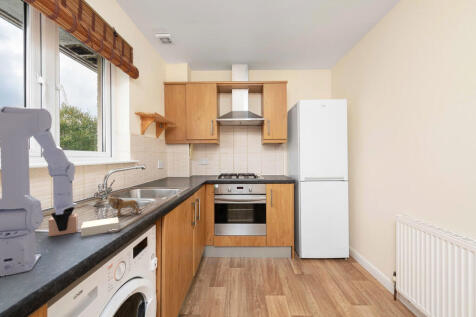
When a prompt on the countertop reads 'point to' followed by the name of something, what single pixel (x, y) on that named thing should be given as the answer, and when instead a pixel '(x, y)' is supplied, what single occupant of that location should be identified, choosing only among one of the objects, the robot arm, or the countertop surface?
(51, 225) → the terracotta brick
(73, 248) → the countertop surface
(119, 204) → the lion figurine
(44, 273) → the countertop surface
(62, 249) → the countertop surface
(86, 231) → the cream base brick
